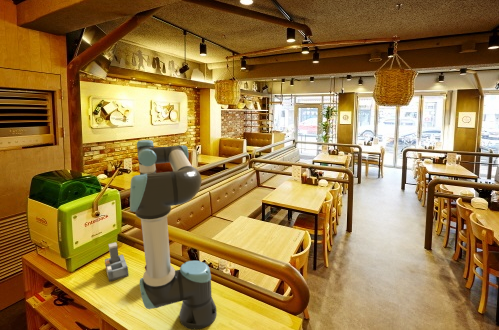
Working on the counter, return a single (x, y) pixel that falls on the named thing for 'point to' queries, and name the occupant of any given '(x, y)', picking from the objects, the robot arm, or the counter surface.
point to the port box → (116, 268)
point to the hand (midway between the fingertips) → (151, 211)
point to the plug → (113, 252)
